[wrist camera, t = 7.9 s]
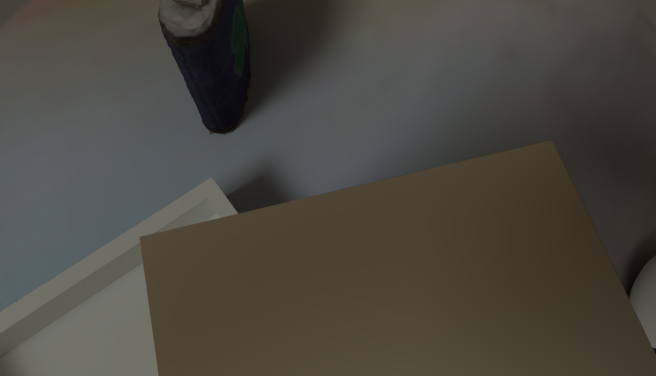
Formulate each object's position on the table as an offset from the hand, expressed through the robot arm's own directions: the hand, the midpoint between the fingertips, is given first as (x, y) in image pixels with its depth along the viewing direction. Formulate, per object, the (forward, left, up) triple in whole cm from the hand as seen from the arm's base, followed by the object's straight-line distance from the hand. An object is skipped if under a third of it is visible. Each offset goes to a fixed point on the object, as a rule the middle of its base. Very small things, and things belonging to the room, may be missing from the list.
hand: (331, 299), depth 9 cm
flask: (+15, -5, -14) cm, 21 cm away
